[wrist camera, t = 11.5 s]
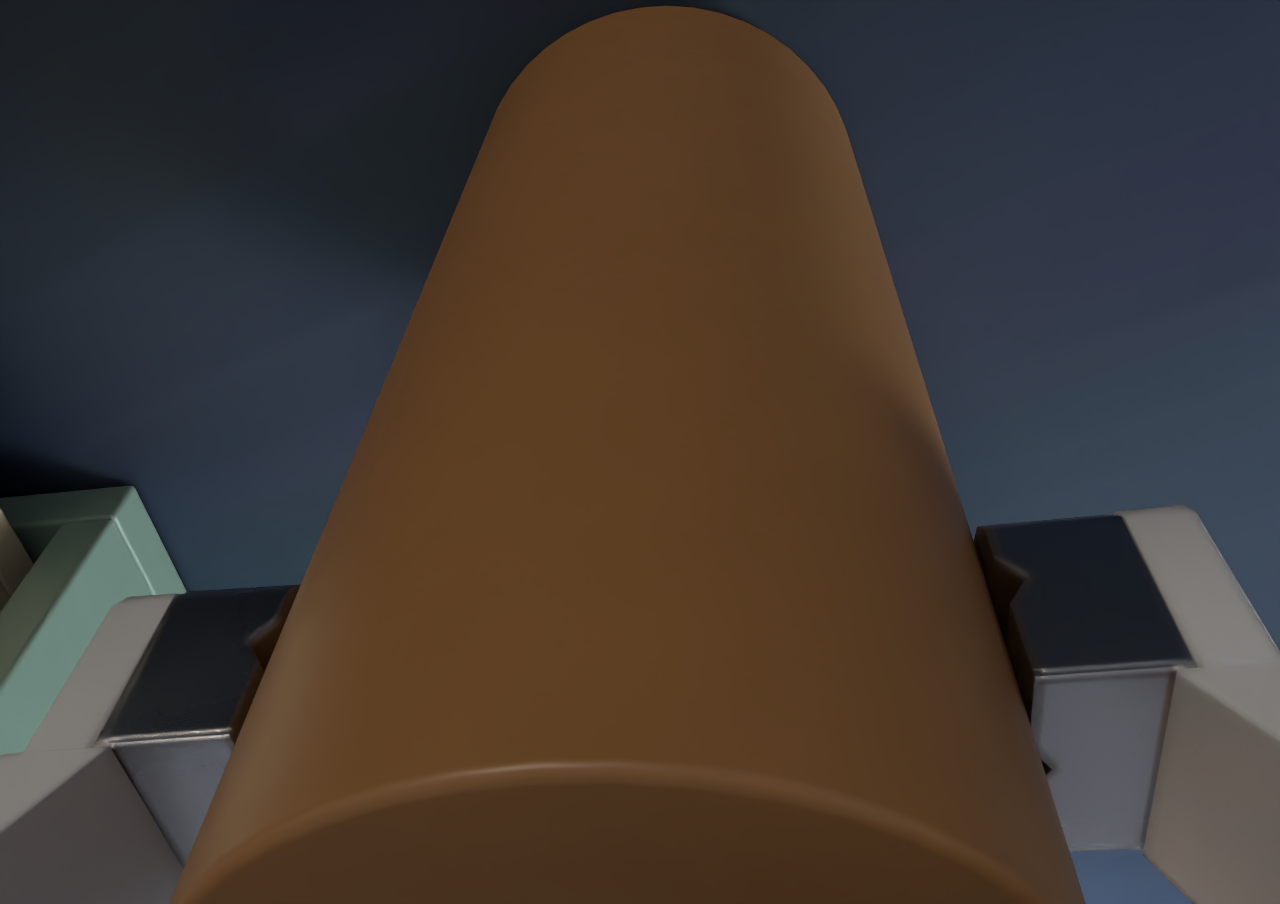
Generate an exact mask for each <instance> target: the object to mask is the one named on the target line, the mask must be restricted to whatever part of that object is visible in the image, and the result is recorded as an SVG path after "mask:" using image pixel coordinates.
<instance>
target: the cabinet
mask: <svg viewBox="0 0 1280 904" xmlns="http://www.w3.org/2000/svg"><path fill="white" fill-rule="evenodd" d="M0 508H1V509H2V511H3V513H4V515H5V516H6V518H7V520H8V521H9V523H10V525H11V526H12V528H13V530H14V531H15V533H16V535H17V537H18V538H19V540H20V542H21V543H22V545H23V547H24V548H25V550H26V552H27V553H28V555H29V557H30V559H31V560H32V562H33V564H34V565H33V566H32V568H31V569H30V571H29V572H28V573H27V575H26V576H25V578H24V579H23V580H22V582H21V583H20V585H19V586H18V587H17V589H16V590H15V592H14V593H13V595H12V596H11V597H10V599H9V600H8V602H7V603H6V604H5V606H4V607H3V609H2V610H1V611H0V757H1V756H2V755H3V754H9V753H21V752H24V750H25V749H26V747H27V745H28V744H29V742H30V740H31V739H32V737H33V735H34V734H35V732H36V730H37V729H38V727H39V725H40V724H41V722H42V721H43V719H44V717H45V716H46V714H47V712H48V711H49V709H50V707H51V706H52V704H53V702H54V701H55V699H56V697H57V696H58V694H59V693H60V691H61V689H62V688H63V686H64V684H65V683H66V681H67V679H68V678H69V676H70V674H71V673H72V671H73V669H74V668H75V666H76V664H77V663H78V661H79V660H80V658H81V656H82V655H83V653H84V651H85V650H86V648H87V646H88V645H89V643H90V641H91V640H92V638H93V636H94V635H95V633H96V632H97V630H98V628H99V627H100V625H101V623H102V622H103V620H104V618H105V617H106V615H107V613H108V612H109V610H110V609H111V607H112V606H113V605H115V604H117V603H119V602H120V601H122V600H124V599H125V598H127V597H130V596H145V595H161V594H176V593H177V594H184V593H185V592H187V591H186V589H185V587H184V585H183V583H182V581H181V579H180V577H179V575H178V573H177V571H176V569H175V567H174V565H173V563H172V561H171V559H170V557H169V555H168V553H167V551H166V549H165V547H164V545H163V543H162V541H161V539H160V537H159V535H158V533H157V531H156V529H155V527H154V525H153V523H152V521H151V519H150V517H149V515H148V513H147V511H146V509H145V507H144V505H143V503H142V501H141V499H140V497H139V495H138V493H137V491H136V489H135V488H134V487H133V486H121V487H110V488H100V489H89V490H78V491H68V492H57V493H47V494H36V495H26V496H15V497H5V498H0Z"/></svg>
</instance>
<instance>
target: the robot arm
mask: <svg viewBox="0 0 1280 904" xmlns="http://www.w3.org/2000/svg"><path fill="white" fill-rule="evenodd" d="M974 545H975V548H976V551H977V554H978V558H979V561H980V564H981V567H982V571H983V574H984V577H985V580H986V584H987V587H988V590H989V593H990V597H991V600H992V603H993V606H994V609H995V613H996V616H997V619H998V622H999V626H1000V629H1001V632H1002V635H1003V639H1004V642H1005V645H1006V648H1007V651H1008V655H1009V658H1010V661H1011V664H1012V668H1013V671H1014V674H1015V677H1016V681H1017V684H1018V687H1019V690H1020V693H1021V697H1022V700H1023V703H1024V706H1025V710H1026V713H1027V716H1028V719H1029V723H1030V726H1031V729H1032V732H1033V735H1034V739H1035V742H1036V745H1037V748H1038V752H1039V755H1040V758H1041V761H1042V765H1043V768H1044V771H1045V774H1046V777H1047V781H1048V784H1049V787H1050V790H1051V794H1052V797H1053V800H1054V803H1055V807H1056V810H1057V813H1058V816H1059V819H1060V823H1061V826H1062V829H1063V832H1064V836H1065V839H1066V842H1067V845H1068V849H1069V851H1095V850H1128V849H1144V850H1143V856H1144V857H1145V858H1147V859H1148V860H1149V861H1150V862H1151V863H1152V864H1153V865H1154V866H1155V867H1156V868H1157V869H1158V870H1159V871H1160V872H1161V873H1162V874H1163V875H1164V876H1165V877H1166V878H1167V879H1168V880H1169V881H1170V882H1171V883H1172V884H1173V885H1174V886H1175V887H1176V888H1178V889H1179V890H1180V891H1181V892H1182V893H1183V894H1184V895H1185V896H1186V897H1187V898H1188V899H1189V900H1190V901H1191V902H1192V903H1193V904H1280V651H1279V649H1278V648H1277V646H1276V644H1275V643H1274V641H1273V639H1272V638H1271V636H1270V634H1269V633H1268V631H1267V629H1266V628H1265V626H1264V624H1263V623H1262V621H1261V619H1260V618H1259V616H1258V615H1257V613H1256V611H1255V610H1254V608H1253V606H1252V605H1251V603H1250V601H1249V600H1248V598H1247V596H1246V595H1245V593H1244V591H1243V590H1242V588H1241V586H1240V585H1239V583H1238V581H1237V580H1236V578H1235V576H1234V575H1233V573H1232V571H1231V570H1230V568H1229V566H1228V565H1227V563H1226V561H1225V560H1224V558H1223V556H1222V555H1221V553H1220V551H1219V550H1218V548H1217V546H1216V545H1215V543H1214V541H1213V540H1212V538H1211V536H1210V535H1209V533H1208V531H1207V530H1206V528H1205V526H1204V525H1203V523H1202V521H1201V520H1200V518H1199V516H1198V515H1197V513H1196V512H1195V511H1193V510H1192V509H1190V508H1188V507H1187V506H1185V505H1178V506H1169V507H1159V508H1150V509H1141V510H1131V511H1122V512H1115V513H1114V514H1113V515H1108V514H1107V515H1097V516H1086V517H1075V518H1064V519H1053V520H1043V521H1032V522H1021V523H1010V524H999V525H988V526H978V527H977V530H976V534H975V539H974ZM300 586H301V585H287V586H271V587H255V588H239V589H224V590H208V591H192V592H185V593H184V594H177V593H176V594H161V595H145V596H130V597H127V598H125V599H124V600H122V601H120V602H119V603H117V604H115V605H113V606H112V607H111V609H110V610H109V612H108V613H107V615H106V617H105V618H104V620H103V622H102V623H101V625H100V627H99V628H98V630H97V632H96V633H95V635H94V636H93V638H92V640H91V641H90V643H89V645H88V646H87V648H86V650H85V651H84V653H83V655H82V656H81V658H80V660H79V661H78V663H77V664H76V666H75V668H74V669H73V671H72V673H71V674H70V676H69V678H68V679H67V681H66V683H65V684H64V686H63V688H62V689H61V691H60V693H59V694H58V696H57V697H56V699H55V701H54V702H53V704H52V706H51V707H50V709H49V711H48V712H47V714H46V716H45V717H44V719H43V721H42V722H41V724H40V725H39V727H38V729H37V730H36V732H35V734H34V735H33V737H32V739H31V740H30V742H29V744H28V745H27V747H26V749H25V750H24V752H21V753H9V754H3V755H2V756H1V757H0V904H169V903H170V901H171V898H172V896H173V893H174V891H175V888H176V886H177V884H178V881H179V879H180V876H181V874H182V872H183V869H184V867H185V864H186V862H187V859H188V857H189V855H190V852H191V850H192V847H193V845H194V842H195V840H196V838H197V835H198V833H199V830H200V828H201V825H202V823H203V821H204V818H205V816H206V813H207V811H208V808H209V806H210V804H211V801H212V799H213V796H214V794H215V792H216V789H217V787H218V784H219V782H220V779H221V777H222V775H223V772H224V770H225V767H226V765H227V762H228V760H229V758H230V755H231V753H232V750H233V748H234V745H235V743H236V741H237V738H238V736H239V733H240V731H241V729H242V726H243V724H244V721H245V719H246V716H247V714H248V712H249V709H250V707H251V704H252V702H253V699H254V697H255V695H256V692H257V690H258V687H259V685H260V682H261V680H262V678H263V675H264V673H265V670H266V668H267V665H268V663H269V661H270V658H271V656H272V653H273V651H274V649H275V646H276V644H277V641H278V639H279V636H280V634H281V632H282V629H283V627H284V624H285V622H286V619H287V617H288V615H289V612H290V610H291V607H292V605H293V602H294V600H295V598H296V595H297V593H298V590H299V588H300Z"/></svg>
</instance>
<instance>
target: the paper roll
mask: <svg viewBox="0 0 1280 904" xmlns="http://www.w3.org/2000/svg"><path fill="white" fill-rule="evenodd" d="M169 904H1086V903H1085V900H1084V897H1083V894H1082V891H1081V887H1080V884H1079V881H1078V878H1077V874H1076V871H1075V868H1074V865H1073V861H1072V858H1071V855H1070V852H1069V849H1068V845H1067V842H1066V839H1065V836H1064V832H1063V829H1062V826H1061V823H1060V819H1059V816H1058V813H1057V810H1056V807H1055V803H1054V800H1053V797H1052V794H1051V790H1050V787H1049V784H1048V781H1047V777H1046V774H1045V771H1044V768H1043V765H1042V761H1041V758H1040V755H1039V752H1038V748H1037V745H1036V742H1035V739H1034V735H1033V732H1032V729H1031V726H1030V723H1029V719H1028V716H1027V713H1026V710H1025V706H1024V703H1023V700H1022V697H1021V693H1020V690H1019V687H1018V684H1017V681H1016V677H1015V674H1014V671H1013V668H1012V664H1011V661H1010V658H1009V655H1008V651H1007V648H1006V645H1005V642H1004V639H1003V635H1002V632H1001V629H1000V626H999V622H998V619H997V616H996V613H995V609H994V606H993V603H992V600H991V597H990V593H989V590H988V587H987V584H986V580H985V577H984V574H983V571H982V567H981V564H980V561H979V558H978V554H977V551H976V548H975V545H974V542H973V538H972V535H971V532H970V529H969V525H968V522H967V519H966V516H965V512H964V509H963V506H962V503H961V500H960V496H959V493H958V490H957V487H956V483H955V480H954V477H953V474H952V470H951V467H950V464H949V461H948V458H947V454H946V451H945V448H944V445H943V441H942V438H941V435H940V432H939V428H938V425H937V422H936V419H935V416H934V412H933V409H932V406H931V403H930V399H929V396H928V393H927V390H926V386H925V383H924V380H923V377H922V374H921V370H920V367H919V364H918V361H917V357H916V354H915V351H914V348H913V344H912V341H911V338H910V335H909V332H908V328H907V325H906V322H905V319H904V315H903V312H902V309H901V306H900V302H899V299H898V296H897V293H896V290H895V286H894V283H893V280H892V277H891V273H890V270H889V267H888V264H887V260H886V257H885V254H884V251H883V248H882V244H881V241H880V238H879V235H878V231H877V228H876V225H875V222H874V218H873V215H872V212H871V209H870V205H869V202H868V199H867V196H866V193H865V189H864V186H863V183H862V180H861V176H860V173H859V170H858V167H857V163H856V160H855V157H854V154H853V151H852V147H851V144H850V141H849V138H848V134H847V131H846V129H845V126H844V124H843V121H842V119H841V116H840V114H839V112H838V109H837V107H836V105H835V104H834V102H833V100H832V99H831V97H830V95H829V93H828V92H827V90H826V88H825V87H824V85H823V84H822V83H821V82H820V80H819V79H818V78H817V77H816V75H815V74H814V73H813V72H812V70H811V69H810V68H809V67H808V66H807V65H806V64H805V63H804V62H803V61H802V60H801V59H800V58H799V57H798V56H797V55H796V54H795V53H794V52H792V51H791V50H790V49H789V48H788V47H786V46H785V45H783V44H782V43H781V42H779V41H778V40H776V39H775V38H774V37H772V36H771V35H769V34H768V33H766V32H764V31H762V30H760V29H758V28H756V27H754V26H752V25H750V24H748V23H746V22H744V21H741V20H738V19H736V18H733V17H730V16H727V15H724V14H721V13H718V12H713V11H708V10H703V9H698V8H692V7H678V6H656V7H642V8H636V9H631V10H626V11H621V12H617V13H613V14H610V15H607V16H604V17H601V18H599V19H596V20H593V21H590V22H588V23H586V24H584V25H582V26H580V27H578V28H576V29H574V30H572V31H570V32H569V33H567V34H565V35H563V36H562V37H561V38H559V39H558V40H556V41H555V42H554V43H552V44H551V45H549V46H548V47H547V48H545V49H544V50H543V51H542V52H541V53H540V54H539V55H538V56H537V57H535V58H534V59H533V60H532V61H531V62H530V63H529V64H528V65H527V66H526V67H525V68H524V70H523V71H522V72H521V73H520V75H519V76H518V77H517V78H516V80H515V81H514V82H513V83H512V85H511V86H510V87H509V89H508V91H507V93H506V94H505V96H504V98H503V99H502V101H501V103H500V104H499V106H498V108H497V110H496V113H495V115H494V118H493V120H492V123H491V125H490V127H489V130H488V132H487V135H486V137H485V140H484V142H483V144H482V147H481V149H480V152H479V154H478V156H477V159H476V161H475V164H474V166H473V169H472V171H471V173H470V176H469V178H468V181H467V183H466V186H465V188H464V190H463V193H462V195H461V198H460V200H459V203H458V205H457V207H456V210H455V212H454V215H453V217H452V220H451V222H450V224H449V227H448V229H447V232H446V234H445V236H444V239H443V241H442V244H441V246H440V249H439V251H438V253H437V256H436V258H435V261H434V263H433V266H432V268H431V270H430V273H429V275H428V278H427V280H426V283H425V285H424V287H423V290H422V292H421V295H420V297H419V299H418V302H417V304H416V307H415V309H414V312H413V314H412V316H411V319H410V321H409V324H408V326H407V329H406V331H405V333H404V336H403V338H402V341H401V343H400V346H399V348H398V350H397V353H396V355H395V358H394V360H393V363H392V365H391V367H390V370H389V372H388V375H387V377H386V379H385V382H384V384H383V387H382V389H381V392H380V394H379V396H378V399H377V401H376V404H375V406H374V409H373V411H372V413H371V416H370V418H369V421H368V423H367V426H366V428H365V430H364V433H363V435H362V438H361V440H360V442H359V445H358V447H357V450H356V452H355V455H354V457H353V459H352V462H351V464H350V467H349V469H348V472H347V474H346V476H345V479H344V481H343V484H342V486H341V489H340V491H339V493H338V496H337V498H336V501H335V503H334V506H333V508H332V510H331V513H330V515H329V518H328V520H327V522H326V525H325V527H324V530H323V532H322V535H321V537H320V539H319V542H318V544H317V547H316V549H315V552H314V554H313V556H312V559H311V561H310V564H309V566H308V569H307V571H306V573H305V576H304V578H303V581H302V583H301V586H300V588H299V590H298V593H297V595H296V598H295V600H294V602H293V605H292V607H291V610H290V612H289V615H288V617H287V619H286V622H285V624H284V627H283V629H282V632H281V634H280V636H279V639H278V641H277V644H276V646H275V649H274V651H273V653H272V656H271V658H270V661H269V663H268V665H267V668H266V670H265V673H264V675H263V678H262V680H261V682H260V685H259V687H258V690H257V692H256V695H255V697H254V699H253V702H252V704H251V707H250V709H249V712H248V714H247V716H246V719H245V721H244V724H243V726H242V729H241V731H240V733H239V736H238V738H237V741H236V743H235V745H234V748H233V750H232V753H231V755H230V758H229V760H228V762H227V765H226V767H225V770H224V772H223V775H222V777H221V779H220V782H219V784H218V787H217V789H216V792H215V794H214V796H213V799H212V801H211V804H210V806H209V808H208V811H207V813H206V816H205V818H204V821H203V823H202V825H201V828H200V830H199V833H198V835H197V838H196V840H195V842H194V845H193V847H192V850H191V852H190V855H189V857H188V859H187V862H186V864H185V867H184V869H183V872H182V874H181V876H180V879H179V881H178V884H177V886H176V888H175V891H174V893H173V896H172V898H171V901H170V903H169Z"/></svg>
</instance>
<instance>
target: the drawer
mask: <svg viewBox="0 0 1280 904" xmlns="http://www.w3.org/2000/svg"><path fill="white" fill-rule="evenodd" d="M33 565H34V564H33V562H32V560H31V559H30V557H29V555H28V553H27V552H26V550H25V548H24V547H23V545H22V543H21V542H20V540H19V538H18V537H17V535H16V533H15V531H14V530H13V528H12V526H11V525H10V523H9V521H8V520H7V518H6V516H5V515H4V513H3V511H2V509H1V508H0V611H1V610H2V609H3V607H4V606H5V604H6V603H7V602H8V600H9V599H10V597H11V596H12V595H13V593H14V592H15V590H16V589H17V587H18V586H19V585H20V583H21V582H22V580H23V579H24V578H25V576H26V575H27V573H28V572H29V571H30V569H31V568H32V566H33Z"/></svg>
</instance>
